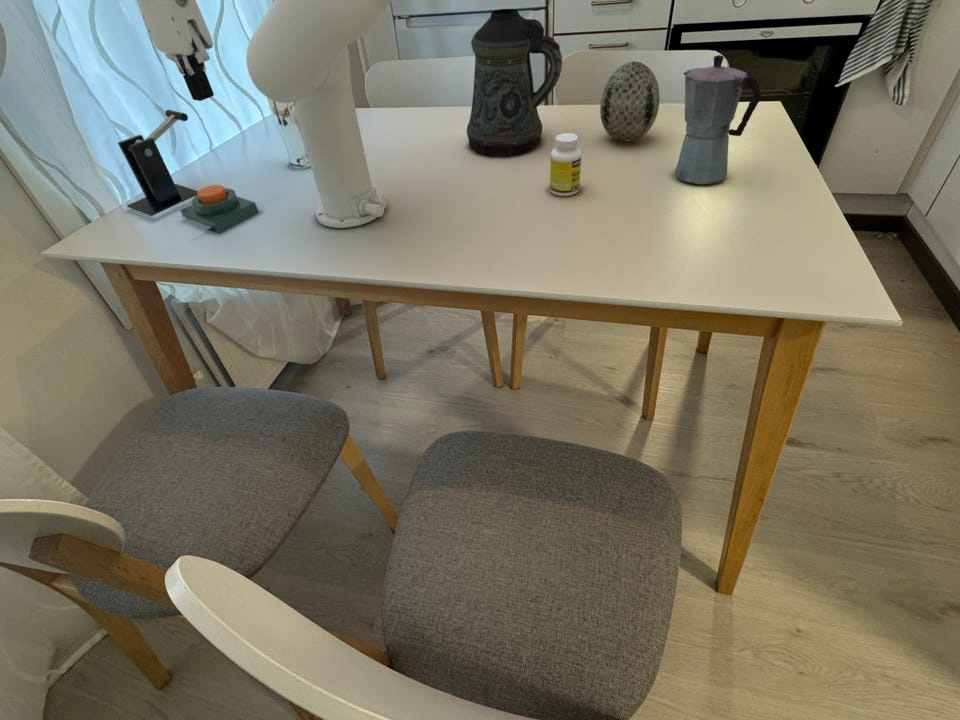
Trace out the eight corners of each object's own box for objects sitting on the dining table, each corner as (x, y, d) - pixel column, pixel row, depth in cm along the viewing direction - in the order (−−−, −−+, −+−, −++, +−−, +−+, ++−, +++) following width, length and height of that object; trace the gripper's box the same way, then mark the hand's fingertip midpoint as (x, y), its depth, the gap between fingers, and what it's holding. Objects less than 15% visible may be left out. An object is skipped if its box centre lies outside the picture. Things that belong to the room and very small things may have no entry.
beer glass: (311, 170, 118) (290, 96, 108) (282, 169, 120) (258, 97, 110) (324, 157, 123) (305, 85, 113) (296, 157, 125) (275, 86, 115)
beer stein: (462, 135, 127) (449, 9, 110) (543, 123, 128) (543, -3, 112) (475, 163, 114) (464, 25, 98) (565, 149, 116) (569, 11, 99)
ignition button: (232, 196, 103) (229, 187, 101) (210, 207, 100) (206, 198, 99) (217, 191, 105) (214, 182, 104) (195, 201, 102) (191, 193, 101)
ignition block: (259, 212, 105) (251, 193, 102) (219, 234, 100) (210, 213, 97) (224, 201, 110) (216, 182, 107) (184, 220, 105) (175, 201, 102)
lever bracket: (178, 189, 116) (149, 127, 108) (203, 197, 112) (174, 133, 104) (129, 210, 110) (94, 147, 101) (153, 220, 106) (119, 155, 97)
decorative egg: (587, 138, 120) (591, 62, 109) (629, 125, 123) (637, 51, 113) (621, 155, 112) (629, 75, 102) (666, 141, 115) (678, 62, 105)
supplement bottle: (574, 198, 99) (576, 144, 92) (545, 195, 101) (546, 141, 94) (583, 186, 103) (586, 132, 96) (555, 182, 104) (556, 130, 98)
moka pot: (684, 157, 108) (704, 43, 95) (755, 181, 99) (789, 57, 85) (652, 172, 105) (668, 55, 91) (722, 198, 95) (752, 71, 82)
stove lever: (175, 116, 109) (166, 105, 107) (191, 120, 107) (182, 109, 105) (132, 157, 106) (122, 147, 104) (147, 162, 103) (137, 152, 101)
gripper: (201, -38, 81) (248, 95, 93) (147, -35, 88) (197, 88, 100) (155, -29, 76) (211, 109, 89) (102, -26, 83) (160, 101, 96)
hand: (203, 97), depth 94 cm, fingers closed
